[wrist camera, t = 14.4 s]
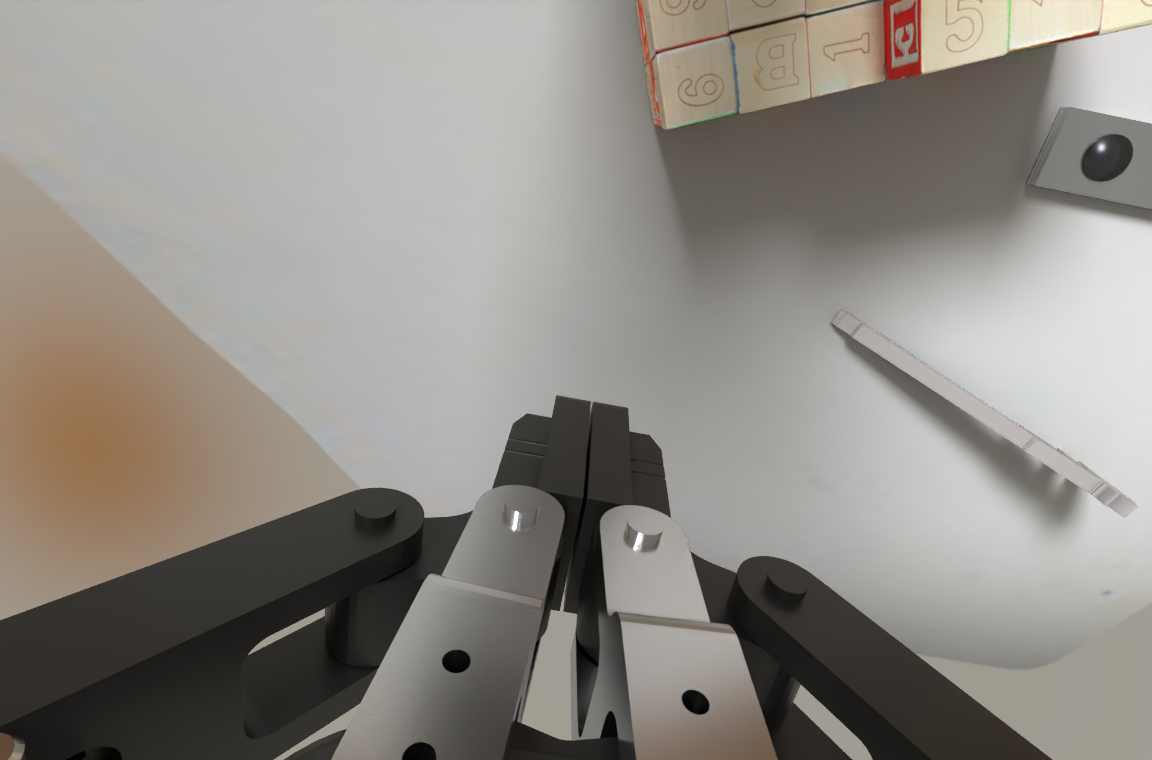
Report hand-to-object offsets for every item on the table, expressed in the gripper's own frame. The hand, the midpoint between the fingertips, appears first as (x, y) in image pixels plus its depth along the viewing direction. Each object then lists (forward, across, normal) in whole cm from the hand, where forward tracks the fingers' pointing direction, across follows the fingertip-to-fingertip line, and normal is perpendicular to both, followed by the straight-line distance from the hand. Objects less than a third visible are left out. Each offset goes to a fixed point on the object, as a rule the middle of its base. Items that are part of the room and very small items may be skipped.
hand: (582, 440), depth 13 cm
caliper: (+27, -25, +6) cm, 37 cm away
